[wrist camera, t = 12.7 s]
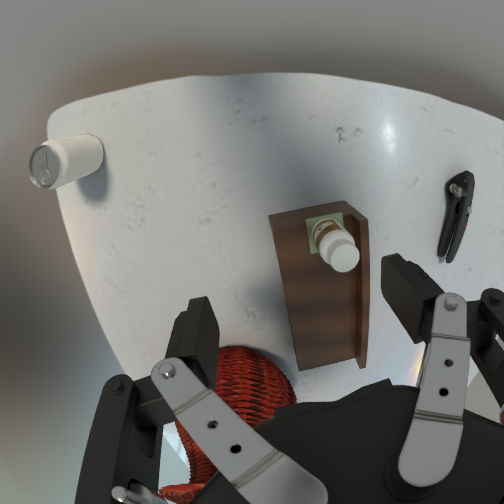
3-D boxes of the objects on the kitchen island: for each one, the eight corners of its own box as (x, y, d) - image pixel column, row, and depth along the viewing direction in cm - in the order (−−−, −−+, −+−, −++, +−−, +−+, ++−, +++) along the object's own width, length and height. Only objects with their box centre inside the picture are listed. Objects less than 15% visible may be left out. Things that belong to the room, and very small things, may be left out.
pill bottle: (324, 210, 35) (344, 232, 28) (348, 229, 36) (370, 253, 29) (304, 236, 36) (317, 263, 29) (328, 253, 38) (345, 283, 31)
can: (75, 177, 38) (31, 197, 27) (69, 140, 35) (22, 149, 24) (107, 169, 38) (65, 186, 27) (101, 129, 35) (57, 134, 24)
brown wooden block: (267, 212, 42) (273, 234, 33) (343, 197, 41) (367, 215, 32) (294, 348, 53) (301, 383, 45) (351, 335, 53) (365, 367, 44)
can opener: (445, 164, 38) (465, 170, 33) (469, 171, 38) (489, 178, 33) (425, 256, 46) (441, 269, 40) (450, 257, 46) (465, 269, 41)
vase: (292, 393, 60) (309, 508, 33) (195, 401, 61) (184, 511, 33) (287, 321, 50) (317, 476, 23) (165, 333, 51) (126, 475, 24)
